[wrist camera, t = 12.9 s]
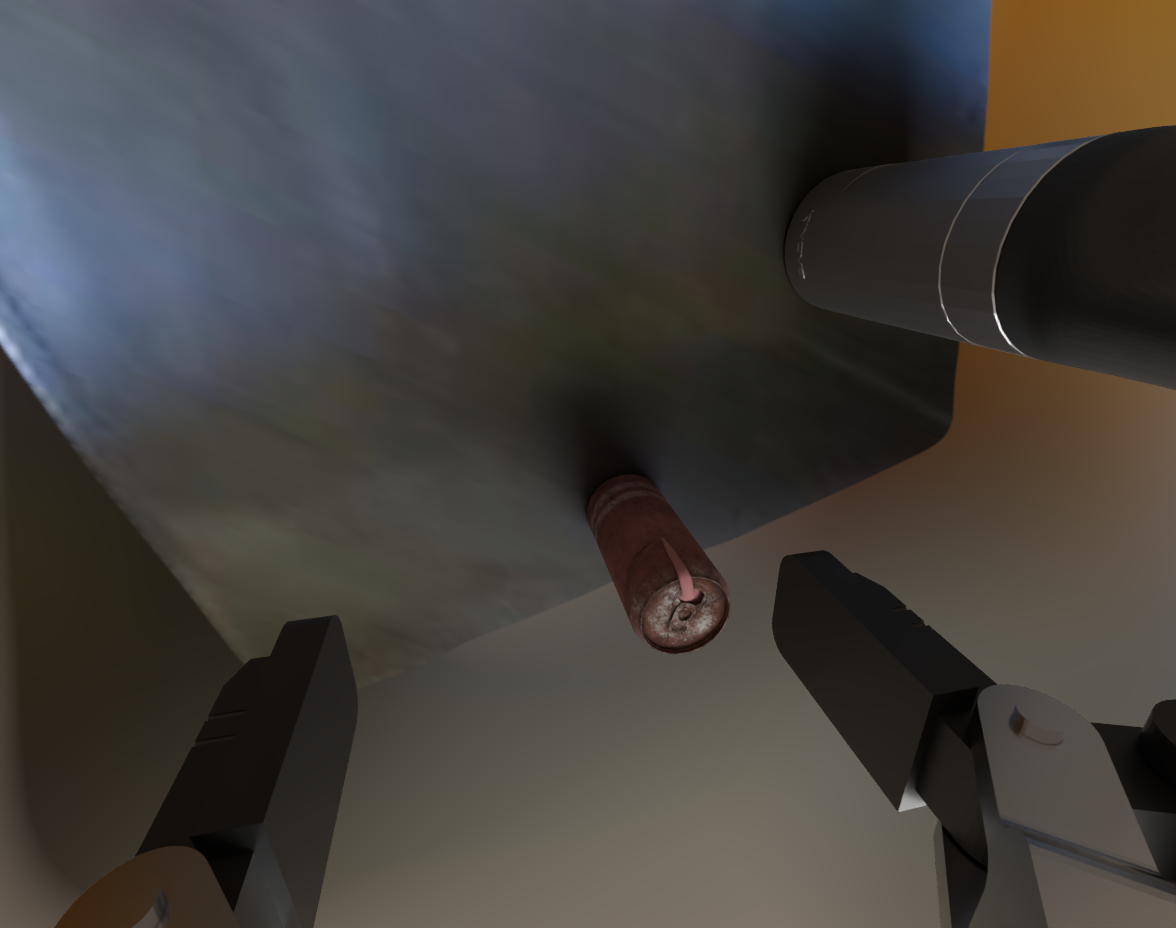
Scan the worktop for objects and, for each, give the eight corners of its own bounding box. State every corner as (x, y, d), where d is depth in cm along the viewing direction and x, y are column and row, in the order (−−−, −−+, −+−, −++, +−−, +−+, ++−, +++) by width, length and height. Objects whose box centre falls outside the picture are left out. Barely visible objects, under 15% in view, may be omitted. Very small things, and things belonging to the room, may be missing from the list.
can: (649, 457, 43) (726, 553, 31) (666, 524, 46) (743, 638, 33) (575, 483, 43) (622, 592, 30) (597, 549, 46) (648, 674, 33)
